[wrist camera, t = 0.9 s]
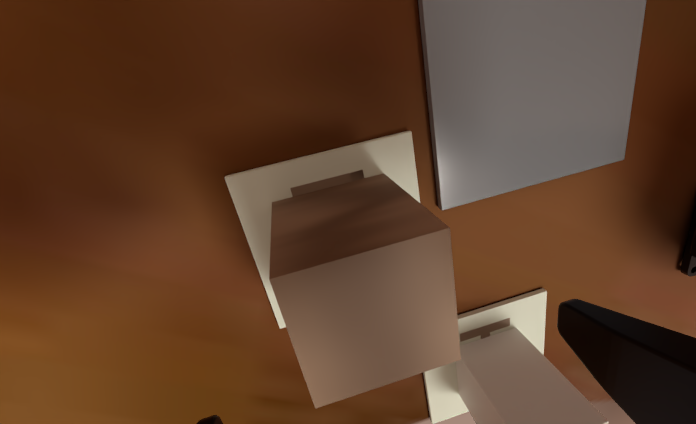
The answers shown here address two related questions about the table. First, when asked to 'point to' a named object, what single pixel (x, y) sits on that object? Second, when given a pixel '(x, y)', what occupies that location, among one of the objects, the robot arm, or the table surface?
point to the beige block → (518, 385)
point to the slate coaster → (526, 90)
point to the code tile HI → (477, 325)
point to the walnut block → (363, 286)
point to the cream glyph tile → (314, 187)
